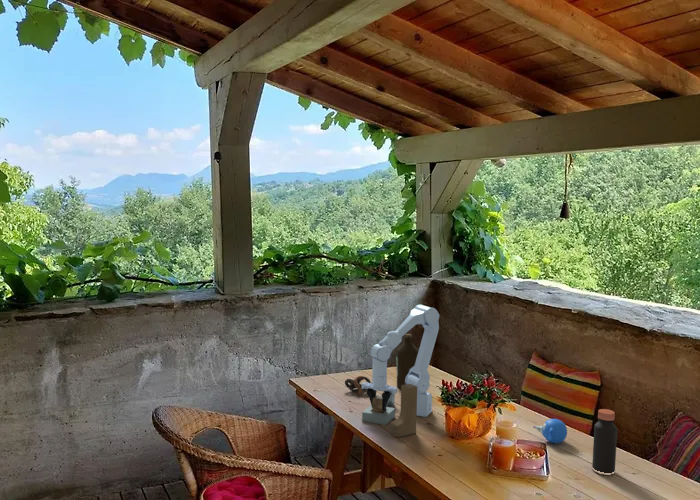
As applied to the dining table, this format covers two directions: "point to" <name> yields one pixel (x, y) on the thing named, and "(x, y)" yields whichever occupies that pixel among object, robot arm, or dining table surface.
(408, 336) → the olive oil
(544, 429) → the blue rubber bulb blower
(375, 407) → the square peg
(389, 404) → the round peg
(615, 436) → the bottle
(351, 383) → the pottery mug
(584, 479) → the dining table surface
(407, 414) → the brown boot
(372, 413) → the socket block
